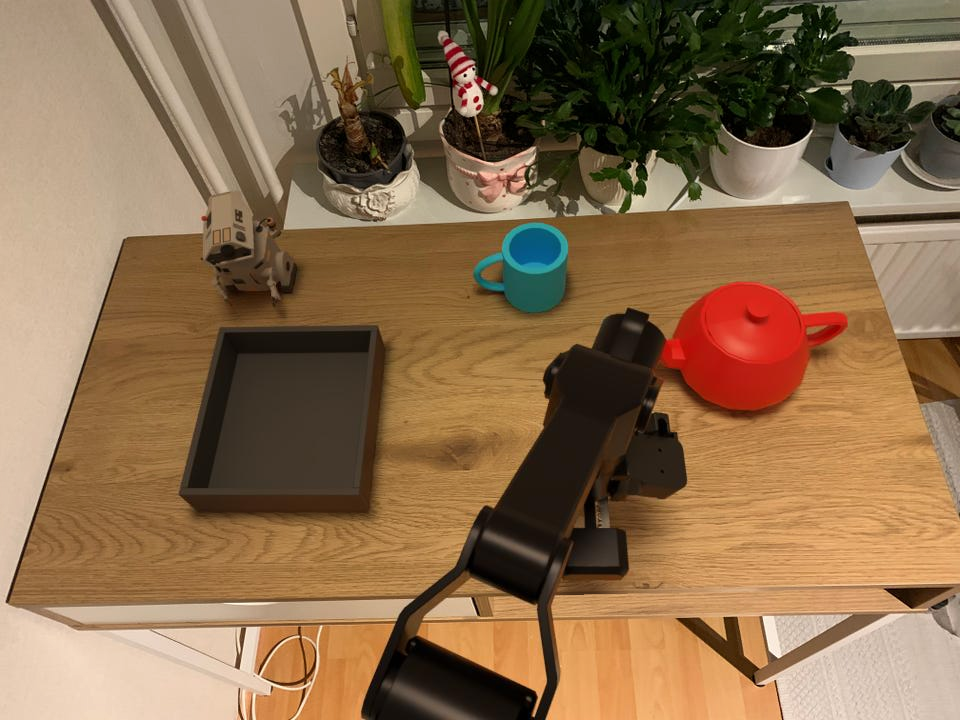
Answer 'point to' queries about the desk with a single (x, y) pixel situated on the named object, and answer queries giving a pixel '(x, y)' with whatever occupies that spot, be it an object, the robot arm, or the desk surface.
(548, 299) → the mug
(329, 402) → the dark grey tray
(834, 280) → the desk surface
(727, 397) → the teapot
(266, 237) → the figurine
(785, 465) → the desk surface
